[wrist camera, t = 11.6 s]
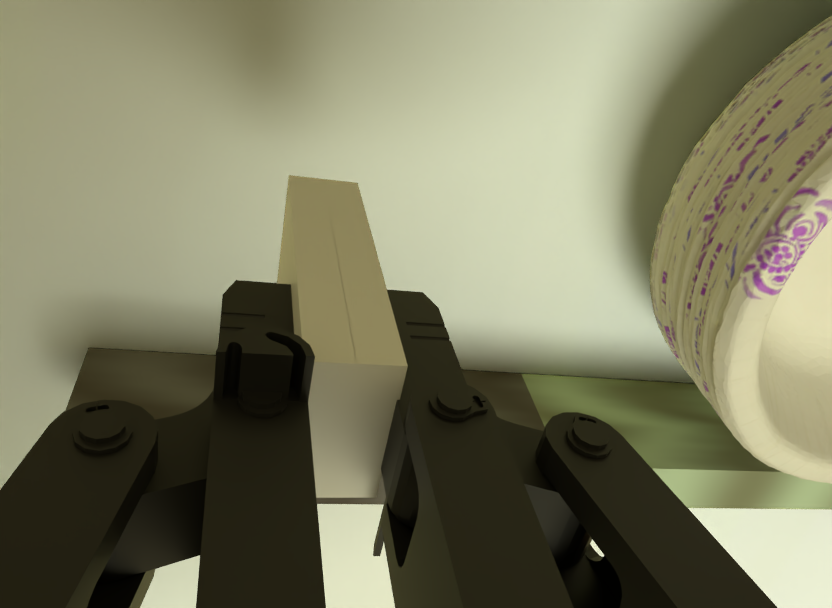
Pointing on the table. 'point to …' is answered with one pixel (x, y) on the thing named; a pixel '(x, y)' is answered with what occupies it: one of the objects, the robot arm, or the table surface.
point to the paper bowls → (759, 262)
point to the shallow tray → (519, 422)
